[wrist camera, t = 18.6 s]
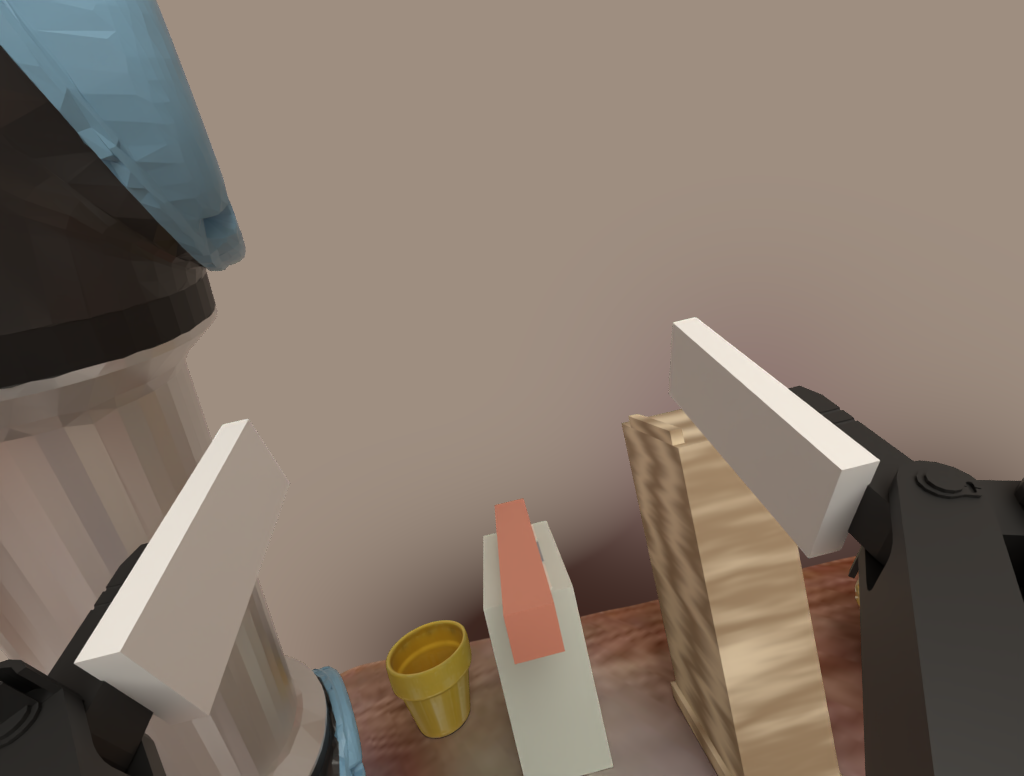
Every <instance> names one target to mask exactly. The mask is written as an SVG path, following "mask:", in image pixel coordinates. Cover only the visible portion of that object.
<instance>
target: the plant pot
mask: <svg viewBox="0 0 1024 776" xmlns="http://www.w3.org/2000/svg"><path fill="white" fill-rule="evenodd" d="M470 663H471V649H470V644H469V640H468V636H467V633H466V630H465V628H464V627H463V626H462V625H461V624H460V623H458V622H455V621H449V620H442V621H435V622H431V623H428V624H425V625H422V626H420V627H418V628H416V629H414V630H412V631H410V632H409V633H408V634H406V635H405V636H403V637H402V638H401V639H400V640H399V641H398V642H396V644H395V645H394V646H393V647H392V649H391V650H390V651H389V653H388V656H387V659H386V669H387V673H388V676H389V680H390V683H391V686H392V689H393V691H394V693H395V694H396V696H398V697H399V698H401V699H403V701H404V702H405V704H406V706H407V708H408V709H409V711H410V713H411V715H412V716H413V718H414V720H415V722H416V724H417V726H418V727H419V729H420V731H421V732H422V733H423V734H424V735H425V736H427V737H430V738H440V737H444V736H447V735H449V734H451V733H453V732H454V731H456V730H457V729H458V728H459V727H461V726H462V724H463V723H464V722H465V721H466V719H467V717H468V715H469V712H470V694H469V671H468V668H469V666H470Z"/></svg>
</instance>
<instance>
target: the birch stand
mask: <svg viewBox="0 0 1024 776" xmlns="http://www.w3.org/2000/svg"><path fill="white" fill-rule="evenodd" d="M622 427H623V432H624V437H625V441H626V446H627V451H628V456H629V461H630V466H631V470H632V475H633V480H634V484H635V489H636V494H637V499H638V503H639V508H640V513H641V518H642V522H643V527H644V532H645V537H646V541H647V546H648V551H649V556H650V560H651V565H652V570H653V574H654V579H655V584H656V589H657V594H658V598H659V603H660V608H661V613H662V617H663V622H664V627H665V632H666V636H667V641H668V646H669V651H670V655H671V660H672V665H673V670H674V674H675V679H676V681H673V682H671V687H672V691H673V696H674V699H675V701H676V703H677V704H678V706H679V708H680V710H681V711H682V713H683V715H684V717H685V718H686V720H687V722H688V724H689V725H690V727H691V729H692V731H693V732H694V734H695V736H696V738H697V739H698V741H699V743H700V745H701V746H702V748H703V750H704V752H705V754H706V755H707V757H708V759H709V761H710V762H711V764H712V766H713V768H714V769H715V771H716V773H717V775H718V776H843V775H842V774H841V773H840V772H839V767H838V762H837V757H836V751H835V746H834V740H833V735H832V730H831V724H830V719H829V713H828V708H827V703H826V697H825V692H824V686H823V681H822V676H821V670H820V665H819V659H818V654H817V649H816V643H815V638H814V633H813V627H812V622H811V616H810V611H809V606H808V600H807V595H806V589H805V584H804V579H803V573H802V568H801V562H800V558H799V552H798V546H797V544H796V543H795V542H794V541H793V539H792V538H791V537H790V536H789V535H788V534H787V532H786V531H785V530H784V529H783V528H782V527H781V525H780V524H779V523H778V522H777V521H776V519H775V518H774V517H773V516H772V515H771V514H770V512H769V511H768V510H767V509H766V508H765V507H764V505H763V504H762V503H761V502H760V501H759V499H758V498H757V497H756V496H755V495H754V494H753V492H752V491H751V490H750V489H749V488H748V487H747V485H746V484H745V483H744V482H743V481H742V479H741V478H740V477H739V476H738V475H737V474H736V472H735V471H734V470H733V469H732V468H731V467H730V465H729V464H728V463H727V462H726V461H725V459H724V458H723V457H722V456H721V455H720V454H719V452H718V451H717V450H716V449H715V448H714V447H713V445H712V444H711V443H710V442H709V441H708V440H707V438H706V437H705V436H704V435H703V434H702V432H701V431H700V430H699V429H698V428H697V427H696V425H695V424H694V423H693V422H692V421H691V420H690V418H689V417H688V416H687V415H686V414H685V412H684V411H683V410H682V409H680V410H675V411H671V412H667V413H663V414H659V415H654V416H650V417H646V416H643V415H639V414H635V415H631V416H629V422H625V423H622Z"/></svg>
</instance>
